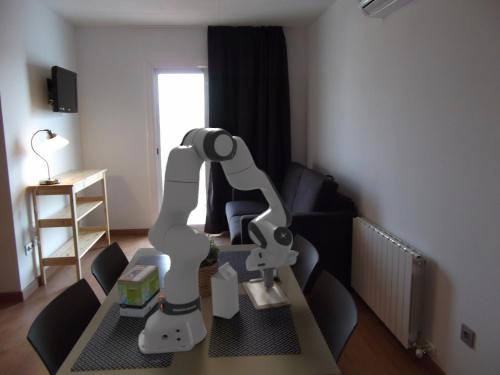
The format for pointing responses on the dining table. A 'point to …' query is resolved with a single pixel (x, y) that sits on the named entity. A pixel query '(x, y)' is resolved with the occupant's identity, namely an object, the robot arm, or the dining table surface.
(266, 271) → the microphone
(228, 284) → the milk carton
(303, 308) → the dining table surface
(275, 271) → the picture frame
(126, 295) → the tea box
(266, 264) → the robot arm
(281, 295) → the clipboard
